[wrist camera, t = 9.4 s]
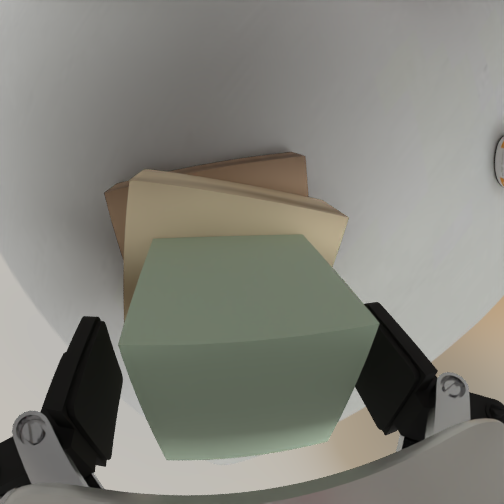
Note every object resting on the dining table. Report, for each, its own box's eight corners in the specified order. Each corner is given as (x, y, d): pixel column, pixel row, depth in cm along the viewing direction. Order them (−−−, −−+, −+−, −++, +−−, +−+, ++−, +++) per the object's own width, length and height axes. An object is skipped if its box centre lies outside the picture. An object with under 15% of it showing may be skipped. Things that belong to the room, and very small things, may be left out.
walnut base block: (119, 181, 15) (104, 192, 12) (287, 151, 16) (305, 156, 13) (161, 319, 19) (157, 348, 17) (298, 293, 20) (312, 318, 18)
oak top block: (144, 169, 12) (129, 179, 10) (322, 200, 14) (348, 217, 12) (134, 323, 16) (126, 358, 13) (278, 336, 18) (291, 369, 15)
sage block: (153, 238, 11) (118, 344, 5) (302, 234, 12) (379, 323, 6) (169, 352, 13) (166, 460, 8) (287, 344, 14) (327, 441, 9)
